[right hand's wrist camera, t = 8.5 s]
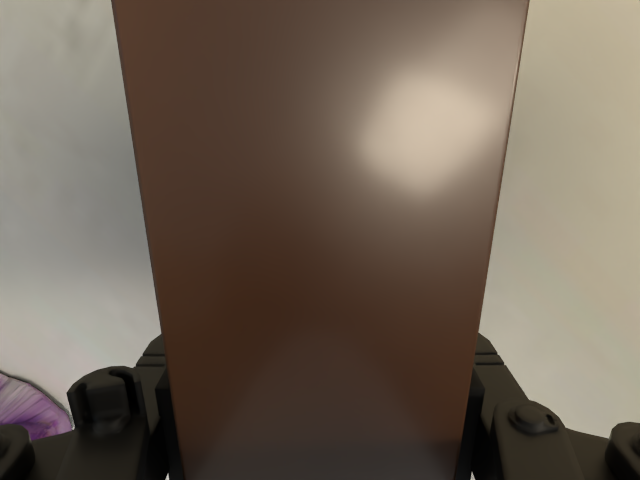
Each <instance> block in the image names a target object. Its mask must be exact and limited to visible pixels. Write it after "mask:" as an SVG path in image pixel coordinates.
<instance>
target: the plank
mask: <svg viewBox="0 0 640 480" xmlns="http://www.w3.org/2000/svg"><path fill="white" fill-rule="evenodd" d="M529 1H530V0H111V2H112V9H113V15H114V22H115V29H116V35H117V42H118V49H119V55H120V62H121V68H122V75H123V82H124V88H125V95H126V101H127V108H128V115H129V121H130V128H131V134H132V141H133V148H134V154H135V161H136V168H137V174H138V181H139V187H140V194H141V201H142V207H143V214H144V220H145V227H146V234H147V240H148V247H149V254H150V260H151V267H152V273H153V280H154V287H155V293H156V300H157V306H158V313H159V320H160V326H161V333H162V340H163V346H164V353H165V359H166V366H167V373H168V379H169V386H170V392H171V399H172V406H173V412H174V419H175V425H176V432H177V439H178V445H179V452H180V459H181V465H182V472H183V478H184V480H456V473H457V467H458V460H459V454H460V447H461V441H462V434H463V428H464V421H465V415H466V408H467V402H468V395H469V389H470V383H471V376H472V370H473V363H474V357H475V350H476V344H477V337H478V331H479V324H480V318H481V311H482V305H483V298H484V292H485V285H486V279H487V272H488V266H489V260H490V253H491V247H492V240H493V234H494V227H495V221H496V214H497V208H498V201H499V195H500V188H501V182H502V175H503V169H504V162H505V156H506V150H507V143H508V137H509V130H510V124H511V117H512V111H513V104H514V98H515V91H516V85H517V78H518V72H519V65H520V59H521V52H522V46H523V39H524V33H525V27H526V20H527V14H528V7H529Z"/></svg>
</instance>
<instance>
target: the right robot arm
mask: <svg viewBox="0 0 640 480" xmlns="http://www.w3.org/2000/svg"><path fill="white" fill-rule="evenodd" d="M67 397H68V401H69V405H70V409H71V413H72V417H73V421H74V425H75V429H74V430H72V431H68V432H65V433H62V434H57V435H53V436H49V437H44V438H40V439H36V440H32V441H31V438H30V435H29V432H28V430H27V429H26V428H24V427H23V426H22V425H16V424H5V425H0V480H165V479H166V476H167V474H169V480H184V478H183V472H182V465H181V459H180V452H179V445H178V439H177V432H176V425H175V419H174V412H173V406H172V399H171V392H170V386H169V379H168V373H167V366H166V359H165V353H164V346H163V340H162V334H161V335H159V336H158V337H157V338H155V339H154V340H153V341H151V342H150V344H149V345H148V347H147V348H146V350H145V351H144V353H143V356H141V357H140V359H139V360H138V362H137V363H136V367H134V368H130V367H126V366H111V367H107V368H103V369H99V370H96V371H94V372H92V373H89V374H87V375H85V376H83V377H82V378H81V379H79V380H78V381H77V382H75V383H74V384H73V385H72V386H71V388H70V389H69V390H68V392H67ZM472 472H473V475H474V477H475V480H640V423H634V422H625V423H619V424H617V425H616V426H615V427H614V428H613V429H612V431H611V434H610V437H609V439H607V438H603V437H599V436H594V435H590V434H586V433H582V432H577V431H574V430H571V429H567V428H565V426H564V424H563V423H562V421H561V420H560V418H559V417H558V416H557V415H556V414H554V413H553V412H552V411H551V410H550V409H549V408H547V407H545V406H543V405H541V404H539V403H537V402H534V401H531V400H529V399H528V398H527V396H526V395H525V393H524V392H523V390H522V389H521V387H520V386H519V384H518V383H517V381H516V380H515V378H514V377H513V375H512V374H511V372H510V371H509V369H508V368H507V366H506V365H504V362H503V360H502V359H501V357H500V356H499V355H497V351H496V350H495V348H494V347H493V345H492V344H491V342H490V341H489V340H488V339H487V338H485V337H484V336H482V335H481V334H480V333H478V337H477V344H476V350H475V357H474V363H473V370H472V376H471V383H470V389H469V395H468V402H467V408H466V415H465V421H464V428H463V434H462V441H461V447H460V454H459V460H458V467H457V473H456V480H470V479H471V473H472Z"/></svg>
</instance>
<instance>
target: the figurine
mask: <svg viewBox="0 0 640 480" xmlns="http://www.w3.org/2000/svg"><path fill="white" fill-rule="evenodd" d="M5 424H16V425H22V426H23V427H24V428H26V429H27V430H28V432H29V435H30V438H31V441H32V440H36V439H40V438H44V437H49V436H53V435H57V434H62V433H65V432H68V431H72V426H71V423H70V420H69V416H68V415H67V413H66V412H65V411H64V410H62V409H61V408H59V407H58V406H57V405H56V404H55V403H54V402H53V401H51V400H50V399H49V398H48V397H47V396H46V395H45V394H43V393H42V392H41V391H39V390H38V389H36V388H35V387H33V386H31V384H30V383H25V382H22V381H20V380H17V379H14V378H9V377H7V376H5V375H3V374H1V373H0V425H5Z"/></svg>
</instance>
